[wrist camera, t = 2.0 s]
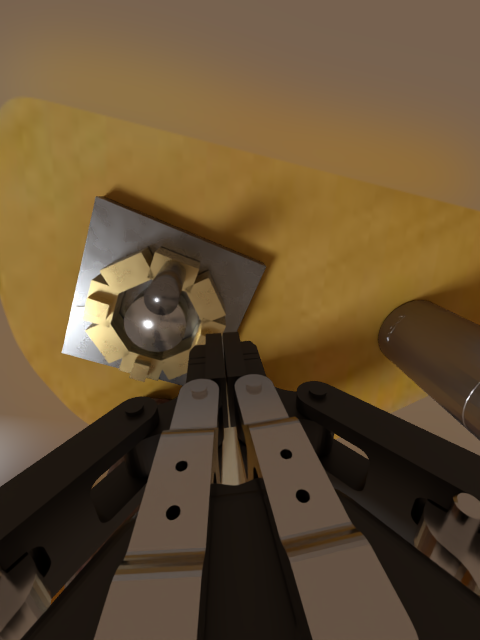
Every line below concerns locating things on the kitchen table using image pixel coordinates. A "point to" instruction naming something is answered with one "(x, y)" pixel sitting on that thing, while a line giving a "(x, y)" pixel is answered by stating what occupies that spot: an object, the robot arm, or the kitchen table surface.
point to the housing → (141, 324)
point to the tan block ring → (151, 309)
